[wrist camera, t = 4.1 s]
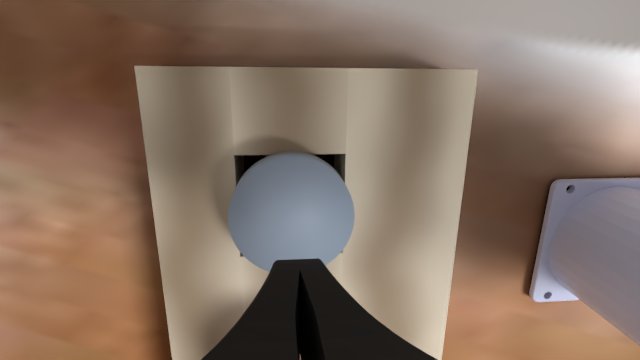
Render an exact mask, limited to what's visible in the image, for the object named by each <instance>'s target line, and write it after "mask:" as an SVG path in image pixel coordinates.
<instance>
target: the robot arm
mask: <svg viewBox="0 0 640 360" xmlns="http://www.w3.org/2000/svg"><path fill="white" fill-rule="evenodd" d="M569 185H570V188H569V189H568V190H567V191H566V189H567V187H568V186H569ZM546 292H547V293H546ZM545 293H546V294H545ZM544 294H545V295H544ZM529 296H530V298H531V299H532V300H534V301H535V302H551V301H569V300H581V301H582V302H583V303H585V304H586V305H587V306H589V307H590V308H591V309H593V310H594V311H595V312H596V313H598V314H599V315H600V316H602V317H603V318H604V319H605V320H607V321H608V322H609V323H611V324H612V325H613V326H614V327H616V328H617V329H618V330H620V331H621V332H622V333H623V334H625V335H626V336H627V337H629V338H630V339H631V340H633V341H634V342H635V343H636V344H638V345H639V346H640V178H595V179H559V180H556V181H554V182H553V183H552V184H551V187H550V191H549V196H548V201H547V206H546V211H545V216H544V221H543V226H542V231H541V236H540V241H539V246H538V251H537V256H536V262H535V267H534V272H533V277H532V282H531V287H530V292H529ZM300 356H301V360H438V359H436V358H434V357H432V356H430V355H429V354H427V353H425V352H424V351H422V350H420V349H419V348H417V347H415V346H414V345H412V344H410V343H409V342H407V341H406V340H404V339H403V338H401V337H400V336H398V335H397V334H395V333H394V332H393V331H391V330H390V329H389V328H387V327H386V326H385V325H383V324H382V323H381V322H379V321H378V320H377V319H375V318H374V317H373V316H372V315H371V314H369V313H368V312H367V311H366V310H365V309H364V308H363V307H362V306H361V305H360V304H359V303H358V302H357V301H356V300H355V299H354V298H353V297H352V296H351V295H350V294H349V293H348V292H347V291H346V290H345V289H344V288H343V286H342V285H341V284H340V283H339V282H338V281H337V280H336V278H335V277H334V276H333V275H332V273H331V272H330V271H329V270H328V268H327V267H326V266H325V264H324V263H323V262H322V261H321V260H320V259H319V258H316V259H290V260H276V261H275V262H274V263H273V265H272V268H271V270H270V272H269V274H268V276H267V278H266V280H265V282H264V284H263V285H262V287H261V289H260V290H259V292H258V293H257V295H256V297H255V298H254V300H253V301H252V303H251V304H250V305H249V307H248V308H247V309H246V311H245V312H244V313H243V315H242V316H241V317H240V319H239V320H238V321H237V323H236V324H235V325H234V326H233V327H232V328H231V330H230V331H229V332H228V333H227V334H226V335H225V336H224V337H223V338H222V339H221V341H220V342H219V343H218V344H217V345H216V346H215V347H214V348H213V349H212V350H211V351H209V352H208V353H207V354H206V355H205V356H204V357H203V358H202V359H201V360H300Z"/></svg>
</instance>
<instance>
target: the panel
mask: <svg viewBox="0 0 640 360" xmlns="http://www.w3.org/2000/svg"><path fill="white" fill-rule="evenodd" d="M134 68H135V75H136V83H137V91H138V99H139V106H140V114H141V122H142V130H143V137H144V145H145V153H146V161H147V168H148V176H149V184H150V192H151V199H152V207H153V215H154V223H155V230H156V238H157V246H158V254H159V261H160V269H161V277H162V285H163V292H164V300H165V308H166V316H167V323H168V331H169V339H170V347H171V354H172V360H201V359H202V358H203V357H204V356H205V355H206V354H207V353H208V352H209V351H211V350H212V349H213V348H214V347H215V346H216V345H217V344H218V343H219V342H220V341H221V339H222V338H223V337H224V336H225V335H226V334H227V333H228V332H229V331H230V330H231V328H232V327H233V326H234V325H235V324H236V323H237V321H238V320H239V319H240V317H241V316H242V315H243V313H244V312H245V311H246V309H247V308H248V307H249V305H250V304H251V303H252V301H253V300H254V298H255V297H256V295H257V293H258V292H259V290H260V289H261V287H262V285H263V284H264V282H265V280H266V278H267V276H268V274H269V272H268V271H266V270H263V269H261V268H259V267H257V266H255V265H254V264H253V263H251V262H250V261H249V260H247V259H246V258H245V257H244V256H243V255H242V253H241V252H240V251H239V250H238V248H237V247H236V245H235V243H234V241H233V239H232V237H231V233H230V230H229V224H228V212H229V205H230V202H231V199H232V196H233V193H234V191H235V188H236V186H237V184H238V182H239V180H240V179H241V177H242V176H243V174H244V164H243V155H273V154H276V153H281V152H290V151H293V152H303V153H308V154H334V169H335V170H336V171H337V172H338V174H339V175H340V177H341V178H342V179H343V181H344V183H345V185H346V187H347V188H348V191H349V193H350V195H351V197H352V201H353V205H354V213H355V219H354V226H353V230H352V234H351V236H350V239H349V241H348V242H347V244H346V246H345V247H344V249H343V250H342V251H341V253H340V254H339V255H338V256H337V257H336V258H335V259H333V260H332V261H331V262H330V263H328V264H327V265H325V266H326V267H327V268H328V270H329V271H330V272H331V273H332V275H333V276H334V277H335V278H336V280H337V281H338V282H339V283H340V284H341V285H342V286H343V288H344V289H345V290H346V291H347V292H348V293H349V294H350V295H351V296H352V297H353V298H354V299H355V300H356V301H357V302H358V303H359V304H360V305H361V306H362V307H363V308H364V309H365V310H366V311H367V312H368V313H369V314H371V315H372V316H373V317H374V318H375V319H377V320H378V321H379V322H381V323H382V324H383V325H385V326H386V327H387V328H389V329H390V330H391V331H393V332H394V333H395V334H397V335H398V336H400V337H401V338H403V339H404V340H406V341H407V342H409V343H410V344H412V345H414V346H415V347H417V348H419V349H420V350H422V351H424V352H425V353H427V354H429V355H430V356H432V357H434V358H436V359H438V360H441V359H442V351H443V343H444V335H445V327H446V319H447V312H448V304H449V296H450V288H451V280H452V272H453V265H454V257H455V249H456V241H457V233H458V225H459V218H460V210H461V202H462V194H463V186H464V179H465V171H466V163H467V155H468V147H469V139H470V132H471V124H472V116H473V108H474V100H475V92H476V85H477V77H478V69H397V68H300V67H204V66H134Z"/></svg>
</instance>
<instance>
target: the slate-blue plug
mask: <svg viewBox="0 0 640 360" xmlns="http://www.w3.org/2000/svg"><path fill="white" fill-rule="evenodd" d="M354 219H355V213H354V205H353V201H352V197H351V195H350V193H349V191H348V188H347V187H346V185H345V183H344V181H343V179H342V178H341V177H340V175H339V174H338V172H337V171H336V170H335V169H334V168H333V167H332V166H331V165H329V164H328V163H327V162H325V161H324V160H322V159H320V158H318V157H316V156H314V155H311V154H308V153H303V152H293V151H290V152H281V153H276V154H273V155H270V156H267V157H265V158H263V159H261V160H259V161H258V162H256V163H255V164H253V165H252V166H251V167H250V168H249V169H248V170H247V171H246V172H245V173H244V174H243V176H242V177H241V179H240V180H239V182H238V184H237V186H236V188H235V191H234V193H233V196H232V199H231V202H230V205H229V212H228V224H229V230H230V233H231V237H232V239H233V241H234V243H235V245H236V247H237V248H238V250H239V251H240V252H241V253H242V255H243V256H244V257H245V258H246V259H247V260H249V261H250V262H251V263H253V264H254V265H255V266H257V267H259V268H261V269H263V270H266V271H268V272H270V270H271V268H272V265H273V263H274V262H275V261H276V260H290V259H316V258H319V259H320V260H321V261H322V262H323V263H324V264H325V265H327V264H328V263H330V262H331V261H332V260H333V259H335V258H336V257H337V256H338V255H339V254H340V253H341V251H342V250H343V249H344V247H345V246H346V244H347V242H348V241H349V239H350V236H351V234H352V230H353V226H354Z"/></svg>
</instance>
